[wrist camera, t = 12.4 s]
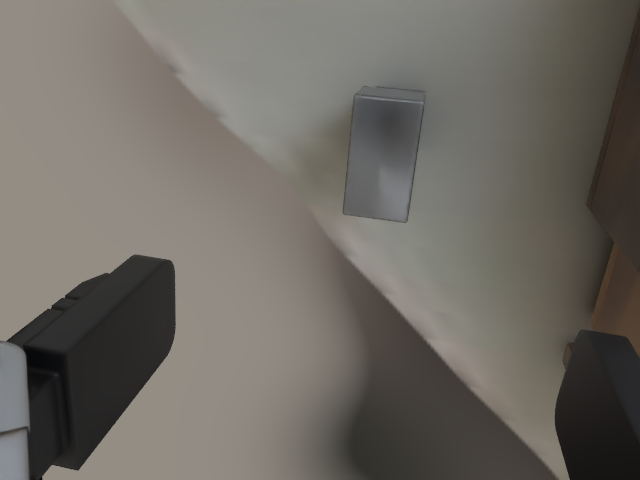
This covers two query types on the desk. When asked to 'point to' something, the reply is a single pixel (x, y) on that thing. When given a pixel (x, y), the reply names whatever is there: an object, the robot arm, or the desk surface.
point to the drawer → (617, 302)
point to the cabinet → (622, 162)
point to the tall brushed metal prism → (383, 152)
